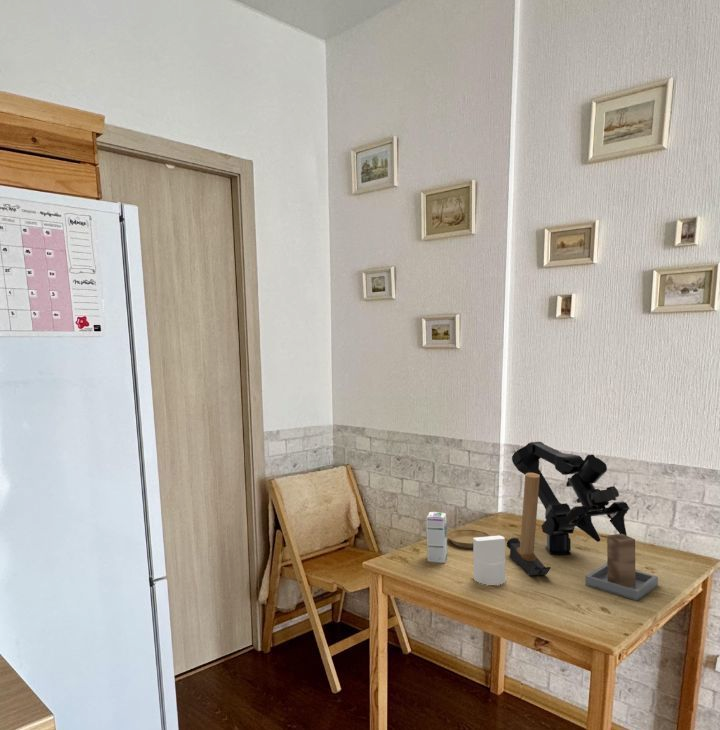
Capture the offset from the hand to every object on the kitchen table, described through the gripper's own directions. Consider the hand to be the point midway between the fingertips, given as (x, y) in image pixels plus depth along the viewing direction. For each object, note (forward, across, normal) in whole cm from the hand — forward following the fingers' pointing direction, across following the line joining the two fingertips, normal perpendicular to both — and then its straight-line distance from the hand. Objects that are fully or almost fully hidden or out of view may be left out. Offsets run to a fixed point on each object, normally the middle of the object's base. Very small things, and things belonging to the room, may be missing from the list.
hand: (612, 539), depth 155 cm
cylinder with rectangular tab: (0, -32, +17) cm, 37 cm away
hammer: (-3, -17, +21) cm, 27 cm away
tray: (+11, 0, +6) cm, 12 cm away
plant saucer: (-21, -23, +39) cm, 50 cm away
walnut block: (+10, 0, +6) cm, 12 cm away
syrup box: (-14, -40, +31) cm, 52 cm away
